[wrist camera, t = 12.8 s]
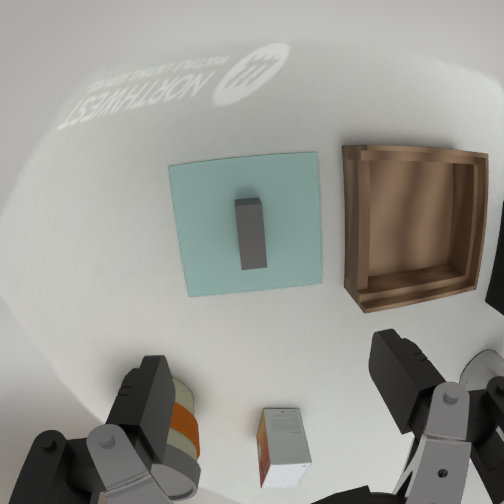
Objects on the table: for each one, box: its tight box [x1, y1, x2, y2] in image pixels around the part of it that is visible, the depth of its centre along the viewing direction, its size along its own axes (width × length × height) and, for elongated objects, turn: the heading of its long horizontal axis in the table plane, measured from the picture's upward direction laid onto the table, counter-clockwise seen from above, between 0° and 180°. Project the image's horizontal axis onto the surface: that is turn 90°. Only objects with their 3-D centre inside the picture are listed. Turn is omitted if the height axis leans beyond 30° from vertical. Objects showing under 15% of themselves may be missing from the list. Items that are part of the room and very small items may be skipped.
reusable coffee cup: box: [151, 378, 201, 501], centre depth 31 cm, size 12×13×15 cm
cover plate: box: [168, 152, 322, 297], centre depth 29 cm, size 15×14×5 cm
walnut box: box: [342, 145, 488, 314], centre depth 28 cm, size 16×16×6 cm
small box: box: [257, 409, 312, 488], centre depth 36 cm, size 8×6×10 cm
